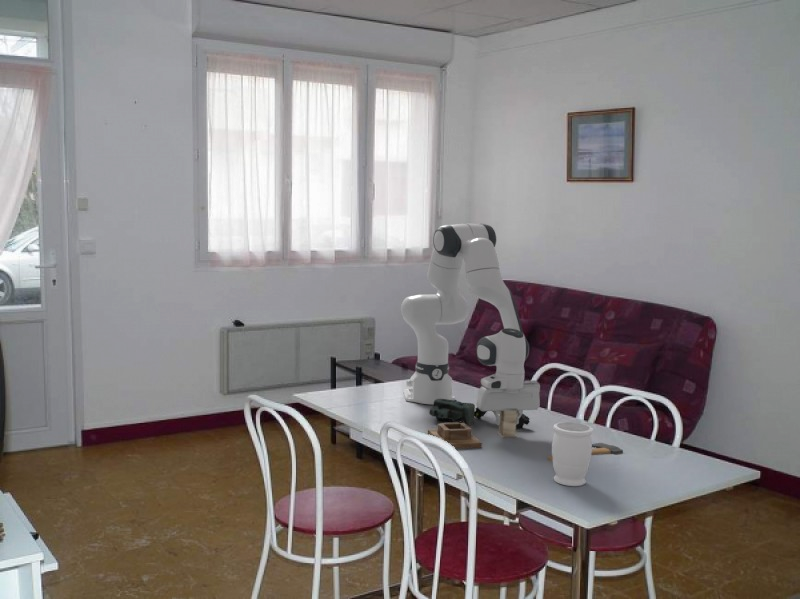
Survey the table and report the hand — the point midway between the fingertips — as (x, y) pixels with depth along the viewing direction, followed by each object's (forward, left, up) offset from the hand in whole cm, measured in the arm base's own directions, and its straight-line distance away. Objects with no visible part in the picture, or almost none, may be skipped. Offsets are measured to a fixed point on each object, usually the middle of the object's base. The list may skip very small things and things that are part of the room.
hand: (507, 423), depth 266 cm
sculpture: (-18, -12, -4) cm, 22 cm away
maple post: (0, 0, -4) cm, 4 cm away
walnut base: (+4, -19, -4) cm, 20 cm away
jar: (+44, 0, -4) cm, 44 cm away
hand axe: (+21, +15, -4) cm, 26 cm away
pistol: (-13, +3, -4) cm, 14 cm away
